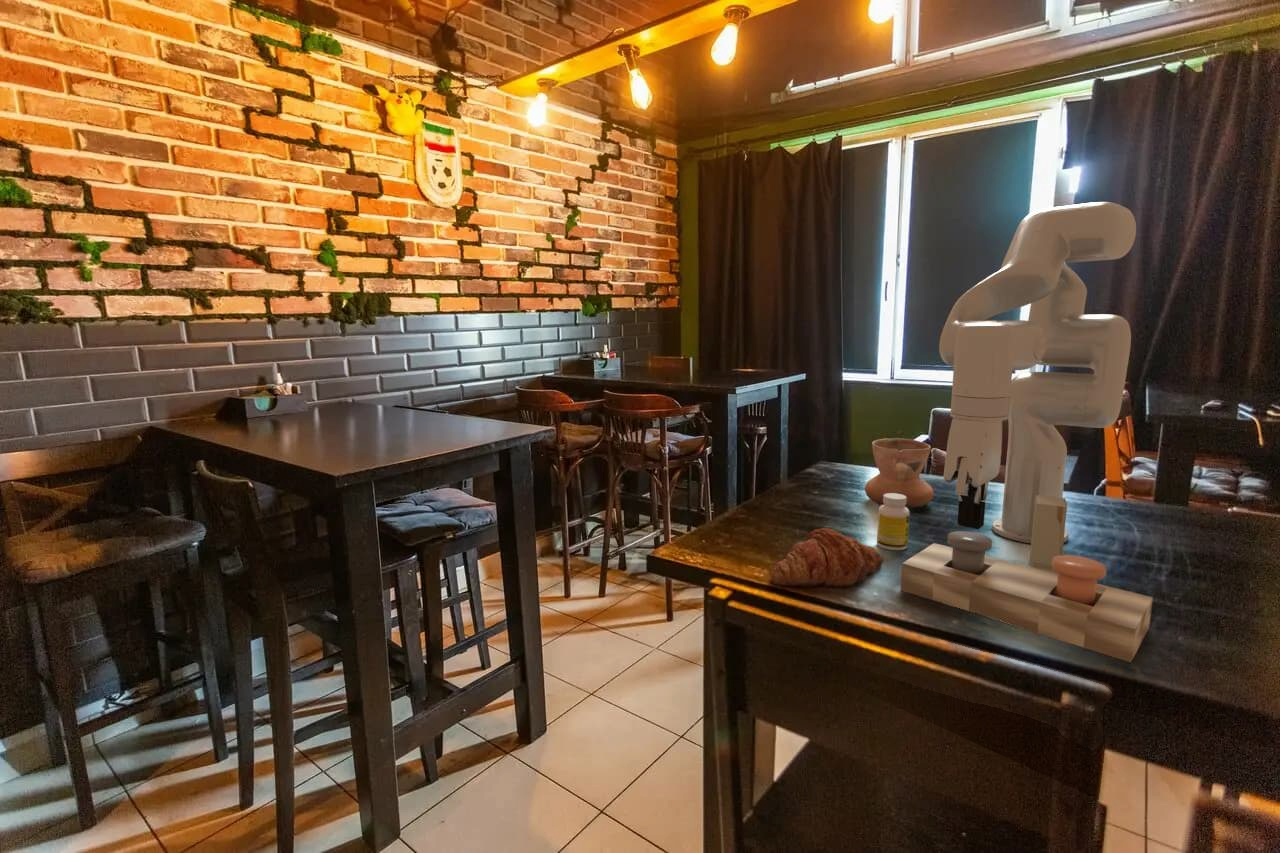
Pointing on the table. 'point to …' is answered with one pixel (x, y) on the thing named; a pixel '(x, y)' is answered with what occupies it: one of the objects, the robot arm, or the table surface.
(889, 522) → the supplement bottle
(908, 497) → the ceramic jug
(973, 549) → the grey knob
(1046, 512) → the skincare box
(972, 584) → the button console
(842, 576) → the pastry
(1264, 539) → the table surface
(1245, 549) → the table surface
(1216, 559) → the table surface
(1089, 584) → the terracotta button
